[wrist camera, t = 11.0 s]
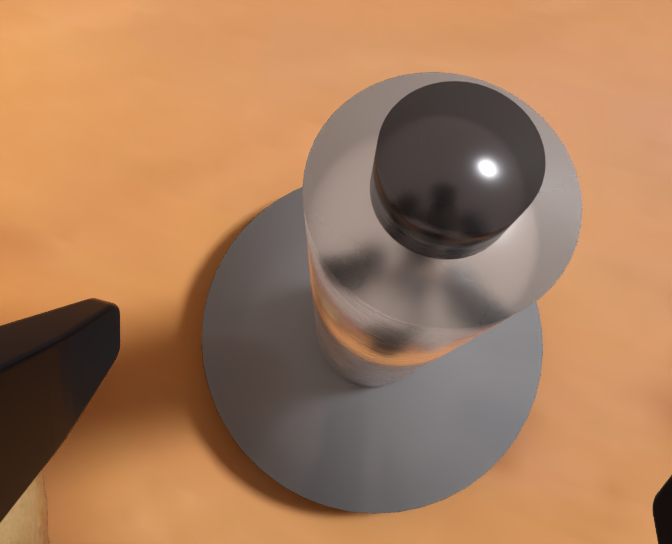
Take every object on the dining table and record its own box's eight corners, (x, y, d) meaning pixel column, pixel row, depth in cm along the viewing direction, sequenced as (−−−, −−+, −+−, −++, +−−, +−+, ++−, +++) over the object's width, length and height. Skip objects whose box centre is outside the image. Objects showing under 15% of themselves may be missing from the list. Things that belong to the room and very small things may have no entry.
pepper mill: (322, 393, 20) (317, 331, 6) (310, 282, 21) (284, 33, 8) (437, 379, 20) (665, 291, 7) (418, 270, 22) (576, 9, 8)
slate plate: (216, 530, 20) (210, 537, 18) (201, 201, 24) (194, 189, 22) (566, 484, 20) (580, 487, 19) (494, 172, 24) (503, 159, 23)
